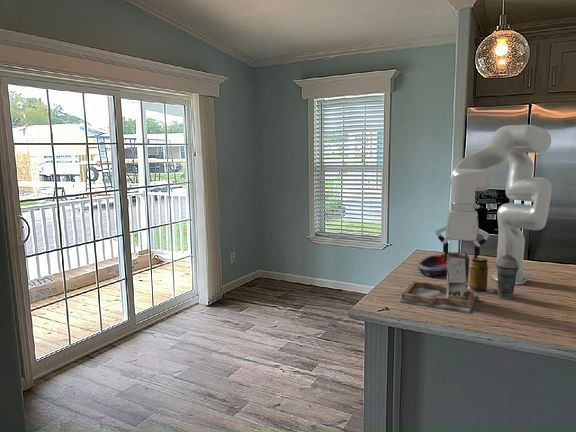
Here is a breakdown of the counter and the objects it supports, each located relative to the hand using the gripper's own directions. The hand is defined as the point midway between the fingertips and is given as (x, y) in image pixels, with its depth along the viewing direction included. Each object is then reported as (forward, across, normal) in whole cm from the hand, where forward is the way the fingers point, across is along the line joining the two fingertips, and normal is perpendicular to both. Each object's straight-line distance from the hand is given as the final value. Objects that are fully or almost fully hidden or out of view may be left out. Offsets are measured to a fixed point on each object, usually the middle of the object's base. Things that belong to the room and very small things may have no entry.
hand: (460, 255), depth 150 cm
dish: (+18, +14, -39) cm, 45 cm away
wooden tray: (+16, +6, +1) cm, 18 cm away
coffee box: (+16, +1, +1) cm, 16 cm away
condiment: (+17, -5, -17) cm, 25 cm away
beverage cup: (+17, -14, -12) cm, 25 cm away
